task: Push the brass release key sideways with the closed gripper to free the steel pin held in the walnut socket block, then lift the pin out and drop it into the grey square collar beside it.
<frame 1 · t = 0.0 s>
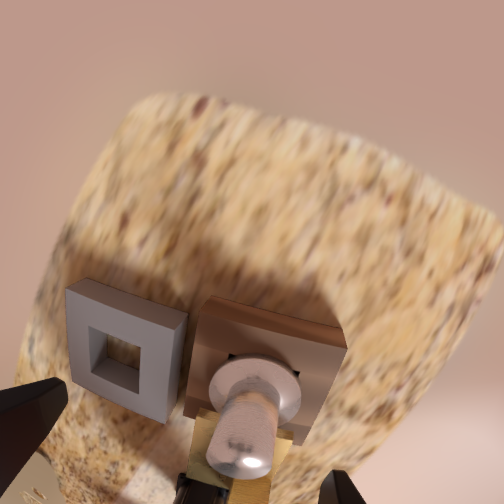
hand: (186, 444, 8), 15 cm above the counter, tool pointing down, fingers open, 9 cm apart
grey square collar: (129, 345, 25), on the counter
walnut socket block: (261, 367, 23), on the counter
steel pin: (252, 407, 18), in the walnut socket block
brass release key: (227, 481, 18), point 7 cm above the counter, slide at 0.0 cm
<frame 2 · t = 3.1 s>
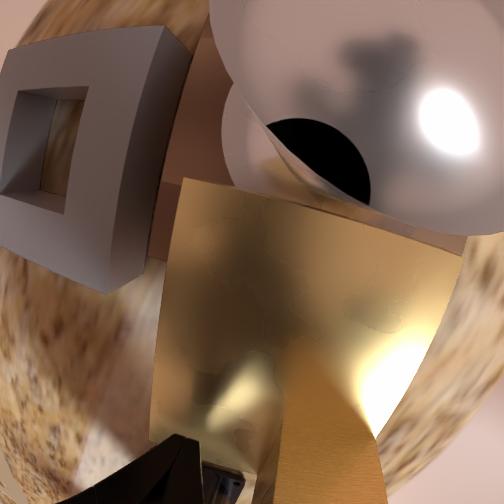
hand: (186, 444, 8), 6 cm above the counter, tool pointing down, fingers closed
grey square collar: (77, 148, 13), on the counter
walnut socket block: (329, 150, 11), on the counter
steel pin: (350, 123, 6), in the walnut socket block
brass release key: (274, 435, 6), point 7 cm above the counter, slide at 0.1 cm, touching gripper
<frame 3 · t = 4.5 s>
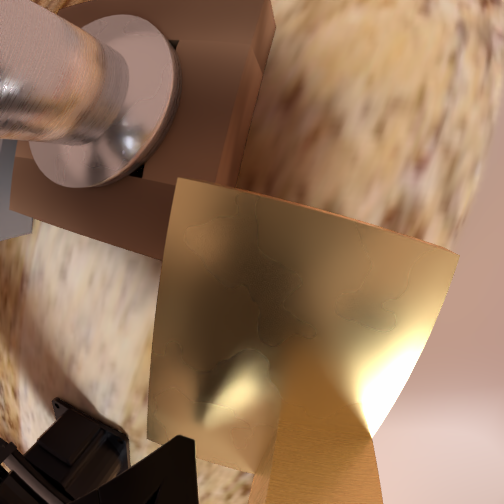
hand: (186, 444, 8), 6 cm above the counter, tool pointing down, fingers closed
walnut socket block: (140, 115, 12), on the counter
steel pin: (67, 88, 7), in the walnut socket block
brass release key: (266, 432, 6), point 7 cm above the counter, slide at 8.2 cm, touching gripper
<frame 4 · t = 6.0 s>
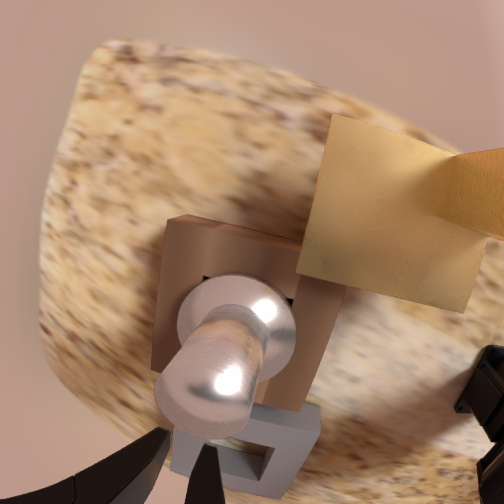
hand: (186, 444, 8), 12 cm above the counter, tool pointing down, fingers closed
grey square collar: (242, 433, 22), on the counter
walnut socket block: (247, 308, 20), on the counter
steel pin: (230, 344, 15), in the walnut socket block
brass release key: (430, 226, 10), point 7 cm above the counter, slide at 8.1 cm
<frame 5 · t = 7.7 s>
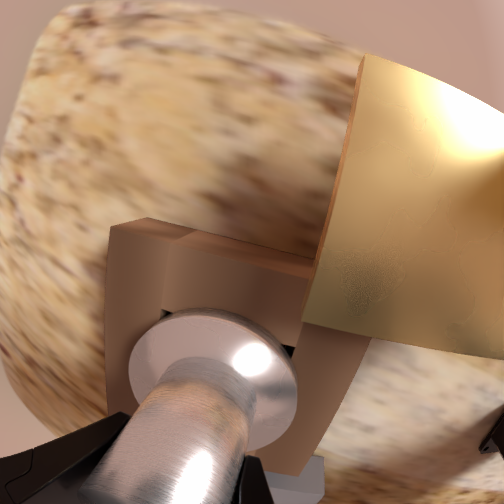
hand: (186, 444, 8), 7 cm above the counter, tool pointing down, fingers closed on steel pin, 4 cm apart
grey square collar: (228, 481, 17), on the counter
walnut socket block: (230, 345, 14), on the counter
steel pin: (199, 413, 9), in the walnut socket block, touching gripper
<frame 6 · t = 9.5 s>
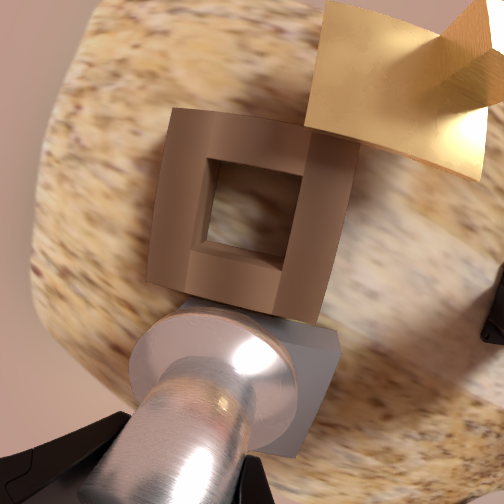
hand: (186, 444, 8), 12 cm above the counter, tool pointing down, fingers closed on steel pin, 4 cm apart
grey square collar: (248, 374, 21), on the counter
walnut socket block: (252, 209, 18), on the counter
steel pin: (200, 413, 9), point 11 cm above the counter, touching gripper
brass release key: (427, 68, 9), point 7 cm above the counter, slide at 8.1 cm
when the fingers open (7 cm above the counter, at t = 11.4 s): steel pin stays where it is, resting in grey square collar.
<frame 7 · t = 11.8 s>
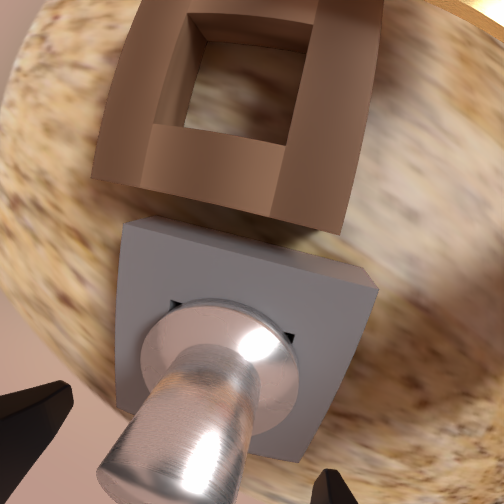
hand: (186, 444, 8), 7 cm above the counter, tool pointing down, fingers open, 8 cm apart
grey square collar: (234, 336, 15), on the counter
walnut socket block: (245, 91, 12), on the counter
steel pin: (208, 397, 10), in the grey square collar
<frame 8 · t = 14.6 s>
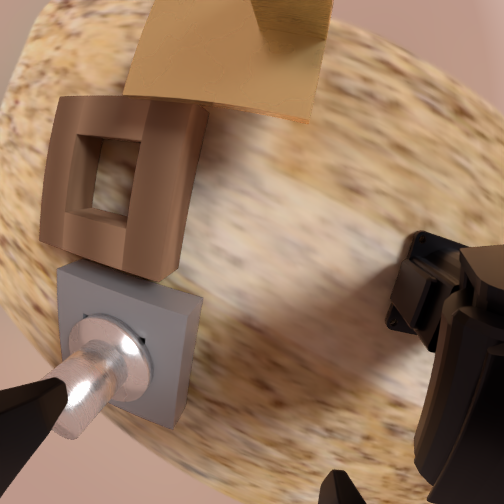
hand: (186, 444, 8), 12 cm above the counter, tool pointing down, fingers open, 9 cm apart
grey square collar: (131, 337, 21), on the counter
walnut socket block: (124, 178, 19), on the counter
steel pin: (97, 370, 17), in the grey square collar
brass release key: (214, 13, 9), point 7 cm above the counter, slide at 8.1 cm
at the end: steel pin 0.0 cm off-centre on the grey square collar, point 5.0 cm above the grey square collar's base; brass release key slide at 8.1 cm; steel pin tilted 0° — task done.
